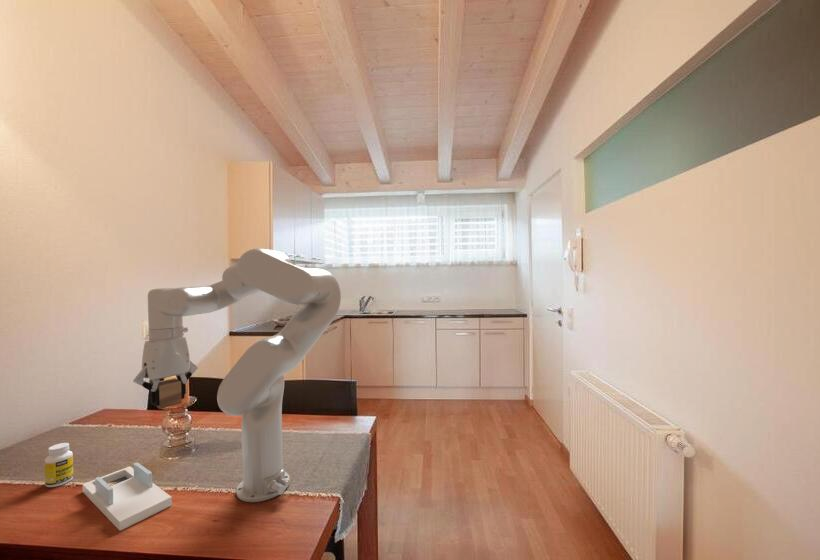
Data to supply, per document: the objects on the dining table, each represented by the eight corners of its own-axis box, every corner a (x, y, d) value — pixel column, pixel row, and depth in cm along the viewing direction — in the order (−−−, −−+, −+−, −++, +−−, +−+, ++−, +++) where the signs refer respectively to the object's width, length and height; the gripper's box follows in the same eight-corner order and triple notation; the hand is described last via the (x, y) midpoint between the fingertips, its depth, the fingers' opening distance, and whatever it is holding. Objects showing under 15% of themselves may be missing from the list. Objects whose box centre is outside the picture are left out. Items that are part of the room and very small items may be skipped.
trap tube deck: (172, 505, 84) (171, 482, 84) (119, 530, 76) (119, 505, 75) (130, 473, 98) (129, 453, 98) (82, 491, 90) (82, 470, 90)
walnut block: (181, 403, 95) (181, 381, 95) (159, 409, 91) (159, 385, 91) (175, 399, 98) (174, 378, 98) (153, 404, 94) (153, 382, 94)
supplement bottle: (55, 489, 92) (54, 451, 92) (39, 487, 93) (38, 450, 93) (79, 477, 97) (77, 442, 97) (63, 475, 98) (62, 440, 98)
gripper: (192, 329, 104) (194, 390, 104) (121, 338, 89) (123, 409, 89) (206, 330, 100) (208, 394, 100) (134, 340, 85) (136, 415, 85)
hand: (168, 400), depth 95 cm, fingers closed on walnut block, 5 cm apart
